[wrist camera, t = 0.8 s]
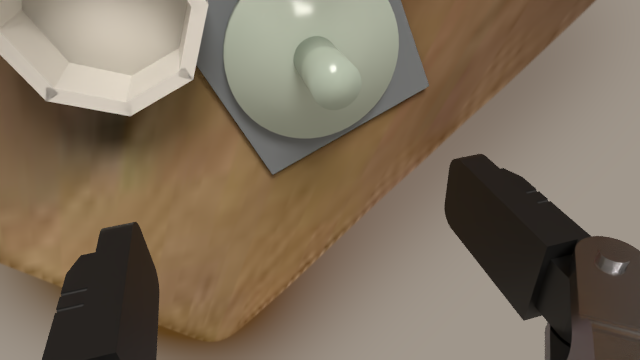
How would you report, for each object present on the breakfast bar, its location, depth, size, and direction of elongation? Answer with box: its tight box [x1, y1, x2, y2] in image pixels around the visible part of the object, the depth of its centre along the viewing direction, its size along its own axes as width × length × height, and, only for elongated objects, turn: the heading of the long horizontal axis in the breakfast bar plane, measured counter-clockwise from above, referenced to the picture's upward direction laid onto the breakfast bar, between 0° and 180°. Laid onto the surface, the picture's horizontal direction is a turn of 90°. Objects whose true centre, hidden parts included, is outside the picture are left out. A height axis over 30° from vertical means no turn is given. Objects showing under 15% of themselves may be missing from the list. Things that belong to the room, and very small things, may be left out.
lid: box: [223, 0, 399, 138], centre depth 28 cm, size 12×12×6 cm
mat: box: [196, 0, 429, 175], centre depth 31 cm, size 14×14×1 cm
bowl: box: [0, 0, 209, 116], centre depth 24 cm, size 10×10×5 cm
